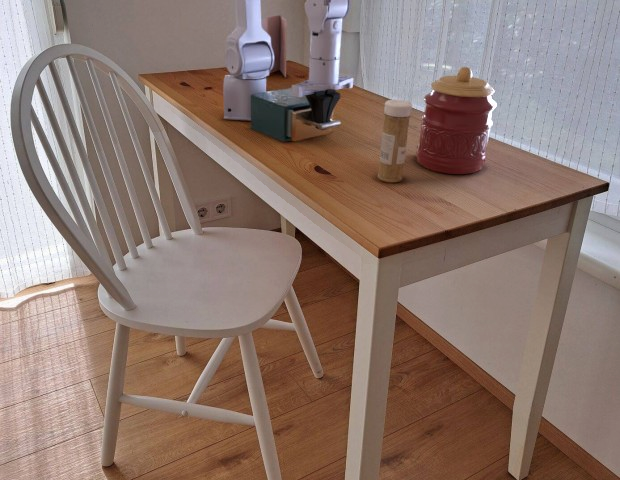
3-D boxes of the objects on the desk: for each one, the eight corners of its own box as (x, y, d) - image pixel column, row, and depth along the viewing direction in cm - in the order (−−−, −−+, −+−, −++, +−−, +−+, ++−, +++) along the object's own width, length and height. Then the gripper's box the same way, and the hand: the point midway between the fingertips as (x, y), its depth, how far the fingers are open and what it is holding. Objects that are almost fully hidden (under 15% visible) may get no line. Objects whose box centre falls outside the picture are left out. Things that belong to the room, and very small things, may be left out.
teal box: (325, 132, 127) (327, 98, 123) (283, 142, 120) (284, 106, 117) (292, 120, 134) (293, 87, 130) (250, 128, 127) (250, 94, 123)
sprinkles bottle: (406, 182, 104) (416, 105, 97) (381, 184, 103) (390, 105, 96) (397, 173, 108) (406, 98, 101) (373, 174, 107) (381, 98, 100)
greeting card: (276, 68, 179) (277, 14, 171) (299, 71, 177) (300, 16, 169) (259, 75, 170) (259, 18, 162) (282, 79, 168) (283, 21, 160)
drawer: (348, 138, 122) (350, 111, 119) (310, 147, 116) (311, 119, 113) (300, 120, 131) (301, 95, 128) (263, 128, 125) (263, 101, 122)
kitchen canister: (411, 150, 119) (424, 58, 110) (475, 154, 119) (494, 61, 110) (419, 173, 108) (434, 73, 99) (490, 177, 108) (511, 77, 99)
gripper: (310, 65, 105) (307, 140, 113) (366, 57, 114) (360, 127, 121) (285, 58, 110) (283, 130, 117) (340, 51, 118) (336, 119, 125)
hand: (321, 128), depth 119 cm, fingers closed, pressing on drawer
